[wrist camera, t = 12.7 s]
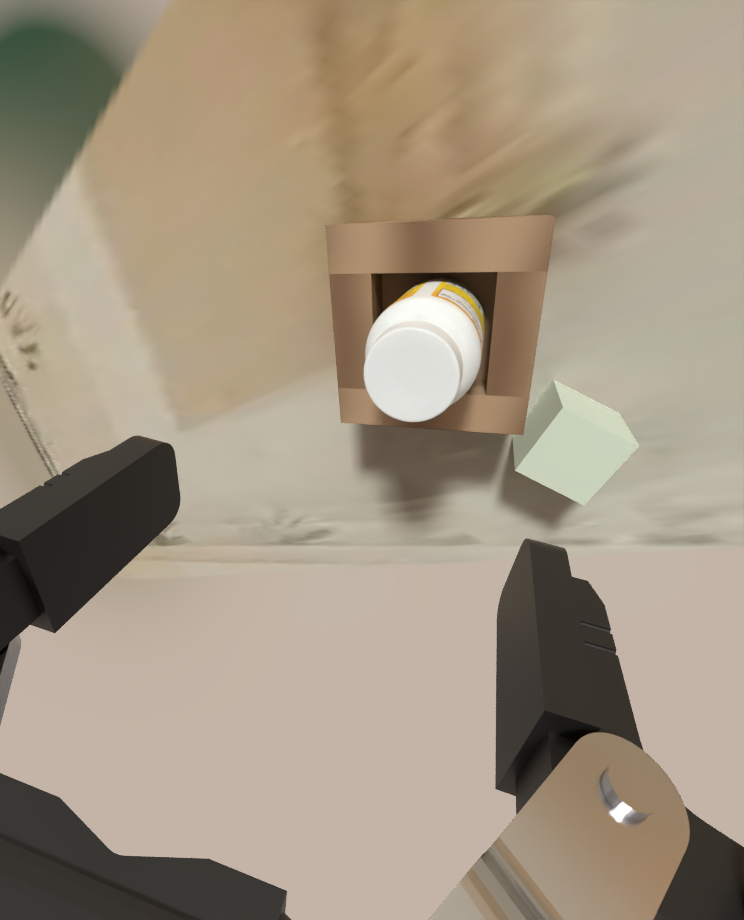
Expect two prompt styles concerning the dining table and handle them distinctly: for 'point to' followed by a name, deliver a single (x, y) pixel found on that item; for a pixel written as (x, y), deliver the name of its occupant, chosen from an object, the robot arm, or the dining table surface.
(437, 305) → the supplement bottle
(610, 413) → the green cube
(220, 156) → the dining table surface
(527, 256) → the brown open box
